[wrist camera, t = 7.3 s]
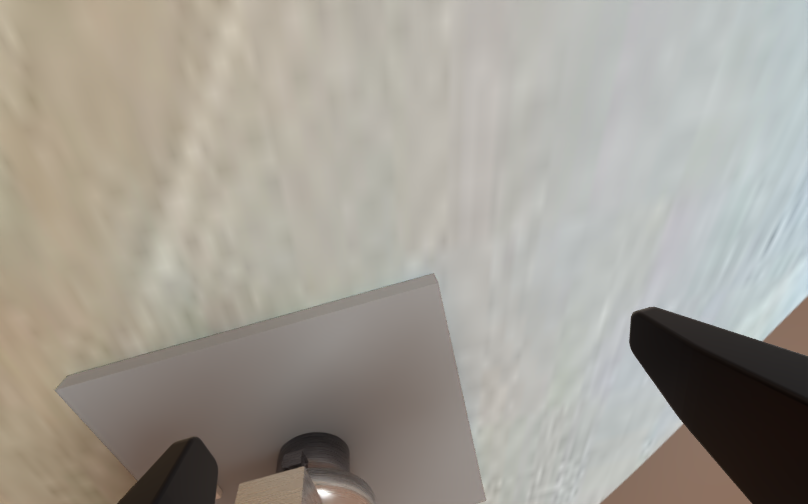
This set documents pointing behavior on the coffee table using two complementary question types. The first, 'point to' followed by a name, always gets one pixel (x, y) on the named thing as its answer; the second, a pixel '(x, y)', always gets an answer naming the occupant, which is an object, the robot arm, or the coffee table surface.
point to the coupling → (307, 488)
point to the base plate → (302, 396)
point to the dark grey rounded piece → (314, 452)
